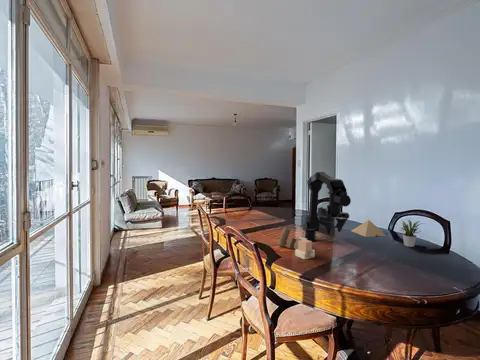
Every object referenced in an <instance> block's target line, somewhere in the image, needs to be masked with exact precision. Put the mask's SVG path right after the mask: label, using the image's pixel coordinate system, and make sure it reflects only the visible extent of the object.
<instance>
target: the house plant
mask: <svg viewBox="0 0 480 360" xmlns="http://www.w3.org/2000/svg"><path fill="white" fill-rule="evenodd" d="M401 223H402V227H400V230H399V232H403V234H402V238H403V245H404V246H406V247H409V248H412V247H413V248H414V247H415V245H416V241H417V235H416V234H419V233H421V232H422V231H421V230H419V231H418V229H419V226H420V225H423V224H425V225H426V222H425V223H424V222H422V223H420V220H417V221H415V222H413V224H412V220H410V219H408V220H407V223H406V221H404V220H401Z"/></svg>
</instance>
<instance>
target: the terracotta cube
mask: <svg viewBox="0 0 480 360" xmlns="http://www.w3.org/2000/svg"><path fill="white" fill-rule="evenodd" d="M312 249H313V242H312V241H309V240H305V239H303V240H300V241H298V250H299V251H302V252H305V253H306V252H310V251H312Z"/></svg>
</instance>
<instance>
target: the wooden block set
mask: <svg viewBox="0 0 480 360" xmlns="http://www.w3.org/2000/svg"><path fill="white" fill-rule="evenodd" d="M290 233H291V230H290V229H288V228H286V227H283V229H282V232H281V234H280V237H279V240H278V242H277V245H278V246H280V247H283V248H284V247H286V248H288V249H290V250H293V249H295V250H296V249H298V241H300V240H302V239H299V238H298V237H297V240H296V238H295V237H292V236H291V237H289V236H290ZM295 241H296V243H295Z"/></svg>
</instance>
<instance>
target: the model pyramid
mask: <svg viewBox="0 0 480 360" xmlns="http://www.w3.org/2000/svg"><path fill="white" fill-rule="evenodd" d="M351 232H353V233H355V234H358V235H360V236H362V237H365V238H366V237H369V238H370V237H374V238H375V237H383V236H384V237H386V236H387V235H386V234H385V233H384V232H383V231H382V230H381V229H380V228H378V227H377V226H376V225H375V224H374V223H373V222H372V221H371V220H370V219H368V220H366V221H364V222H363V223H361V224H360V225H358V226H356V227H355V228H354V229H352V230H351Z"/></svg>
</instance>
